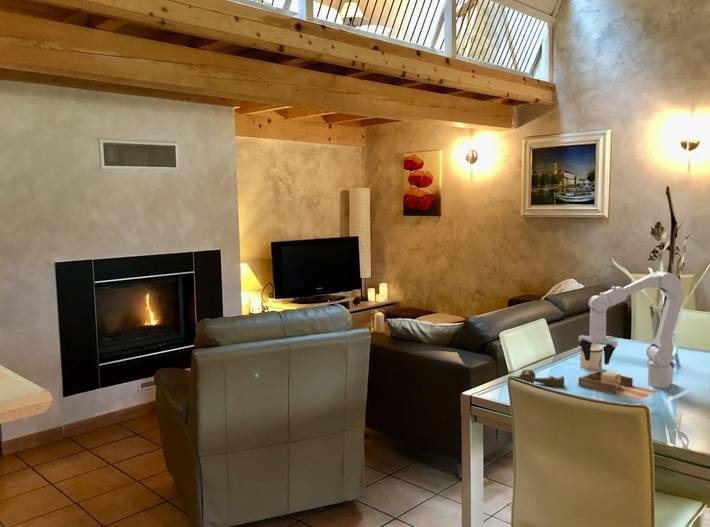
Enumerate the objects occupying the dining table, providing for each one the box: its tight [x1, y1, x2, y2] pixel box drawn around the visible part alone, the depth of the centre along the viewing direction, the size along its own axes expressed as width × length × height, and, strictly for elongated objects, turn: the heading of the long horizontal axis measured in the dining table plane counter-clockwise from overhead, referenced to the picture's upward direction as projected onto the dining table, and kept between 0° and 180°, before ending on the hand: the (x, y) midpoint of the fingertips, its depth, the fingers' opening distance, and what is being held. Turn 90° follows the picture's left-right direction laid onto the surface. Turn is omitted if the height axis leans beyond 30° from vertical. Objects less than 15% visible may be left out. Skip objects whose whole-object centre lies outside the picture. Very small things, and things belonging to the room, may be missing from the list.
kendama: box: [510, 368, 565, 389], centre depth 227 cm, size 6×10×20 cm
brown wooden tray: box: [578, 370, 658, 401], centre depth 219 cm, size 14×23×4 cm, turn 40°
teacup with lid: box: [579, 343, 604, 370], centre depth 250 cm, size 12×9×12 cm
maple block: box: [601, 370, 622, 388], centre depth 221 cm, size 5×5×5 cm
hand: (597, 362), depth 225 cm, fingers open, 7 cm apart
